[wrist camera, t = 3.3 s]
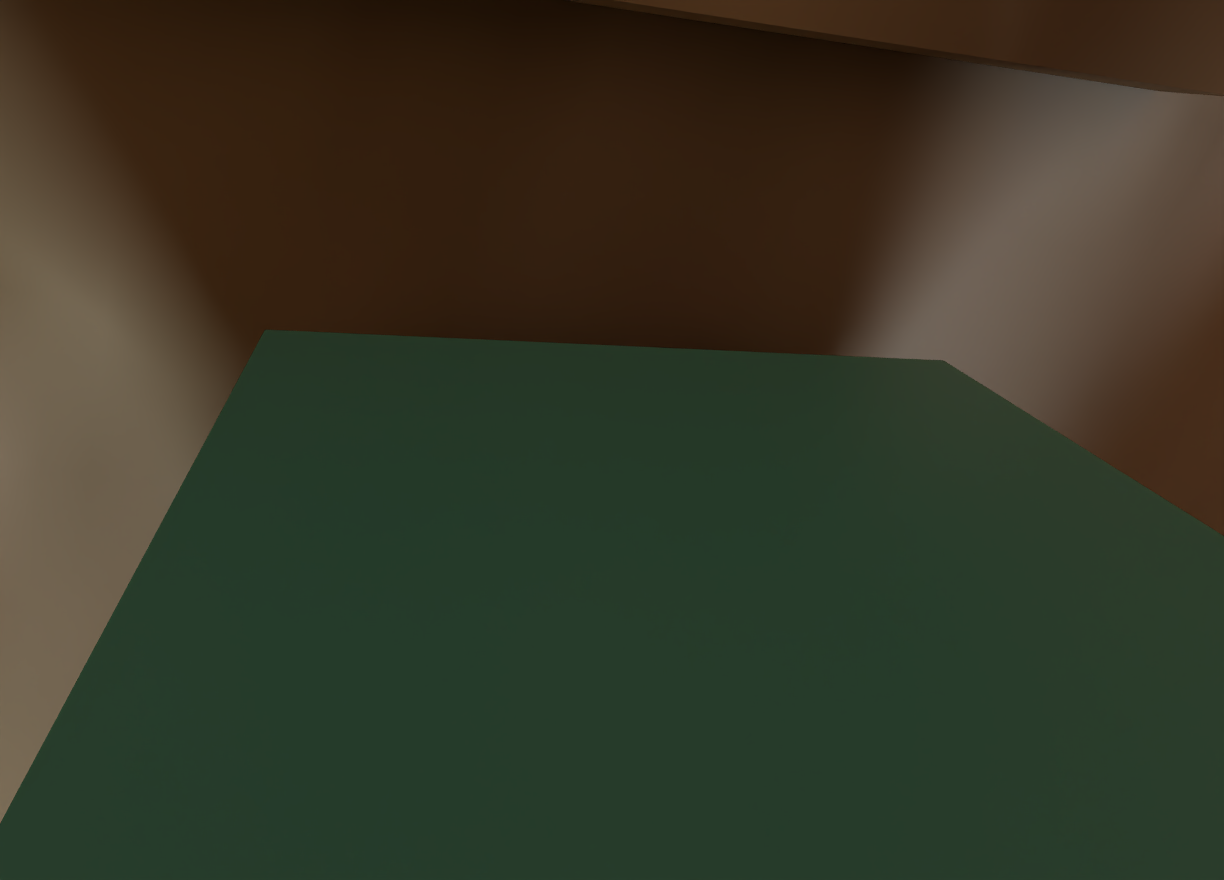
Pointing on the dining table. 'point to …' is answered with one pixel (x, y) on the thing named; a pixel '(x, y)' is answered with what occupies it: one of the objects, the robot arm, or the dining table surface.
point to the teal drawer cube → (640, 634)
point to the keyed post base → (1002, 33)
